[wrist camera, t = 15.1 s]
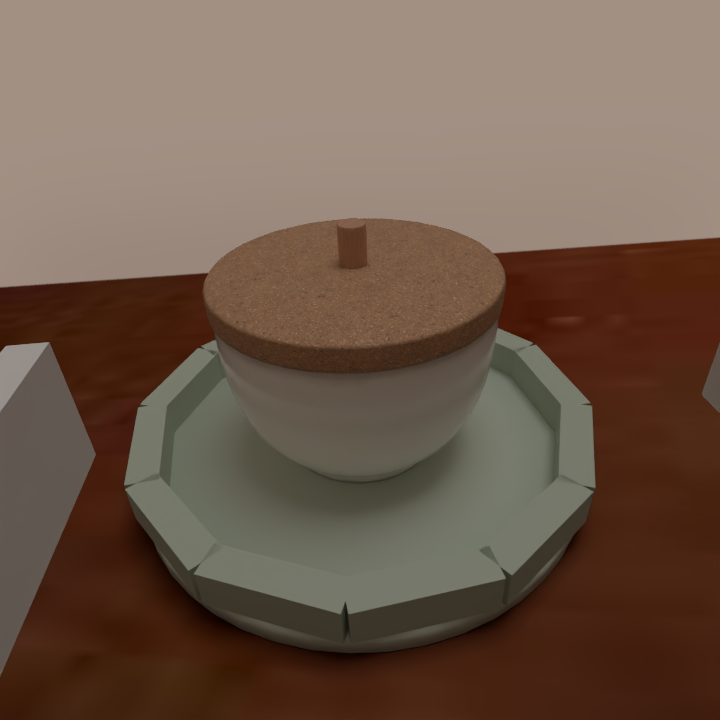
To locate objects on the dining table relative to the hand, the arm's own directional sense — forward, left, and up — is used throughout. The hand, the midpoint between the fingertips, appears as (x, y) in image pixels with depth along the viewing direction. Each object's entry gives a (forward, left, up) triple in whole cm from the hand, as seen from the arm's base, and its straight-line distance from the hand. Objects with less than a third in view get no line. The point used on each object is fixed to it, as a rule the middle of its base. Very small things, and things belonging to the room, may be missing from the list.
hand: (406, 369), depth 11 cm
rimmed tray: (+4, -9, -11) cm, 14 cm away
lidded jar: (+4, -9, -10) cm, 14 cm away
